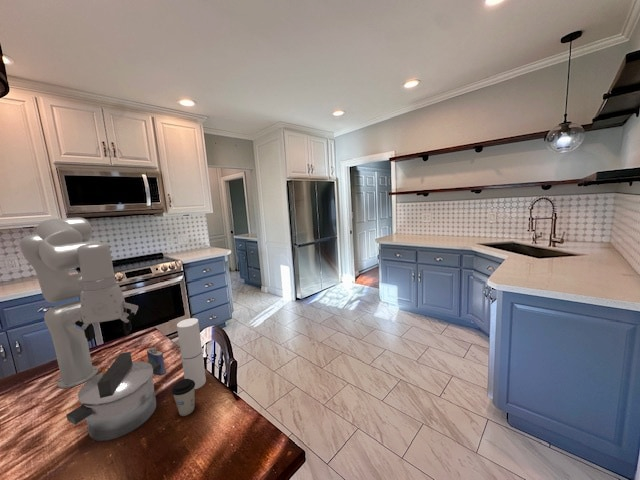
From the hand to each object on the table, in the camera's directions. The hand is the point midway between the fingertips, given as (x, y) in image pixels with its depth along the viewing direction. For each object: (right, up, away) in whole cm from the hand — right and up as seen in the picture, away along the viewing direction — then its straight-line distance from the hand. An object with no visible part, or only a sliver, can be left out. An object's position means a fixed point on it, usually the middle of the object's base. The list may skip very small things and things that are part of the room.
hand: (110, 336), depth 83 cm
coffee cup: (+21, -27, +6) cm, 35 cm away
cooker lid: (+1, -16, +3) cm, 16 cm away
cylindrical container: (+18, -25, +19) cm, 36 cm away
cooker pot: (+1, -28, +5) cm, 29 cm away
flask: (-2, -25, +28) cm, 37 cm away
